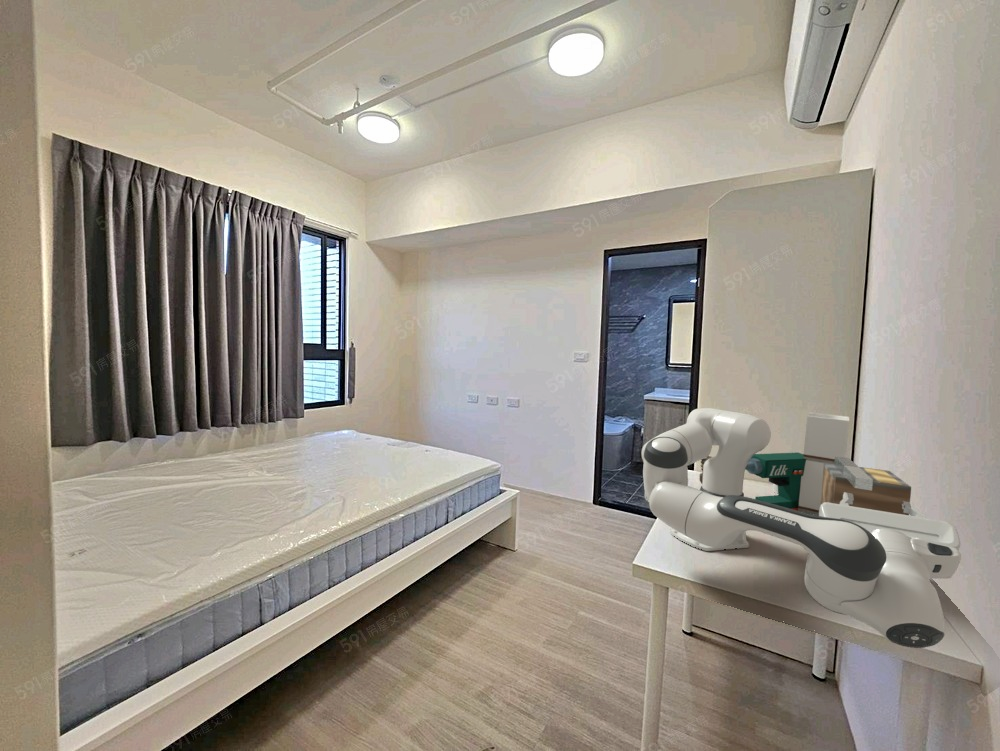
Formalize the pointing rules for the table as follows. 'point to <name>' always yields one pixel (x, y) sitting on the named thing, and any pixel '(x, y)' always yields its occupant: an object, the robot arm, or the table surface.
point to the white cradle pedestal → (820, 455)
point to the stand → (882, 496)
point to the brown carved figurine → (702, 467)
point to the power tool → (780, 476)
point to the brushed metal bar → (853, 473)
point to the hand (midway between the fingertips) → (876, 499)
